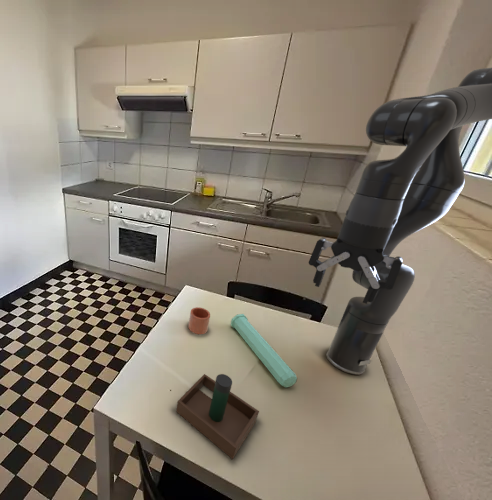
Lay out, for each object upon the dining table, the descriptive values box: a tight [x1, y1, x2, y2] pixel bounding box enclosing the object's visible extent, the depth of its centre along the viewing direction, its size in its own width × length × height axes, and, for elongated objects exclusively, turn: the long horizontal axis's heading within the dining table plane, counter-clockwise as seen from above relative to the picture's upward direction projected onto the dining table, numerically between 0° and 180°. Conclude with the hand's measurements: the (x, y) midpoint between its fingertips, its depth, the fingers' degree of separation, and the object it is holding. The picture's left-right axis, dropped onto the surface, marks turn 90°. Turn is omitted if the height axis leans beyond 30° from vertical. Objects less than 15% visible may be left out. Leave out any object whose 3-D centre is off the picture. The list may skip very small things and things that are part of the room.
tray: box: [175, 373, 260, 460], centre depth 63 cm, size 11×14×4 cm
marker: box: [209, 373, 233, 422], centre depth 61 cm, size 3×3×11 cm
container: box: [230, 313, 298, 388], centre depth 82 cm, size 6×6×25 cm
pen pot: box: [187, 306, 211, 335], centre depth 90 cm, size 6×6×6 cm
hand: (340, 293), depth 59 cm, fingers open, 8 cm apart
